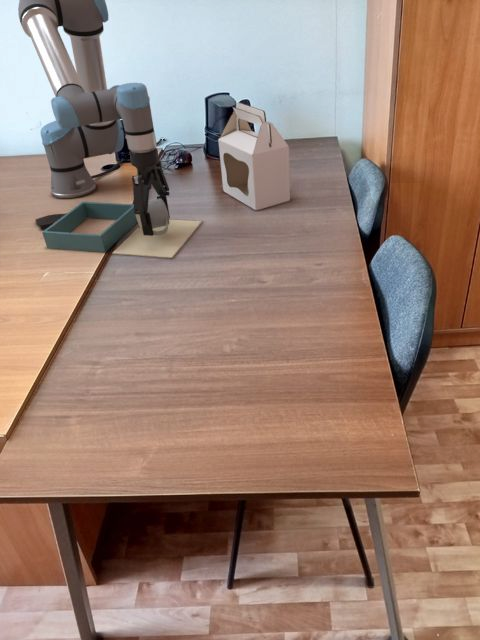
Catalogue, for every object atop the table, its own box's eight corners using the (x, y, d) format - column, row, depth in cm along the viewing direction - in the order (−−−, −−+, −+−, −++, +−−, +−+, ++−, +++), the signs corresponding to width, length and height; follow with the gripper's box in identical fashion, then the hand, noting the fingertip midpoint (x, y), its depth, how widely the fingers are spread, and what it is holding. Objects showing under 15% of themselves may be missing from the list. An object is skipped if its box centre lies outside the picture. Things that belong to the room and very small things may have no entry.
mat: (148, 219, 167) (147, 218, 167) (201, 222, 163) (201, 221, 163) (112, 254, 149) (112, 252, 148) (172, 258, 144) (171, 257, 144)
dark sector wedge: (84, 220, 169) (82, 215, 168) (40, 231, 164) (39, 226, 163) (77, 211, 175) (76, 207, 174) (35, 222, 170) (33, 217, 169)
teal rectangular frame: (86, 216, 171) (82, 201, 168) (139, 219, 167) (136, 204, 164) (47, 248, 154) (41, 232, 151) (105, 252, 150) (101, 236, 147)
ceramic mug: (136, 226, 156) (131, 200, 151) (162, 219, 158) (158, 194, 154) (148, 239, 148) (143, 213, 143) (175, 232, 151) (171, 206, 146)
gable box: (222, 191, 183) (214, 103, 166) (255, 182, 188) (250, 97, 171) (256, 211, 167) (250, 117, 151) (290, 201, 173) (288, 109, 156)
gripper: (148, 135, 150) (161, 209, 163) (109, 162, 132) (127, 243, 145) (172, 136, 149) (184, 210, 162) (136, 163, 130) (152, 245, 144)
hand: (157, 226), depth 154 cm, fingers closed on ceramic mug, 11 cm apart
